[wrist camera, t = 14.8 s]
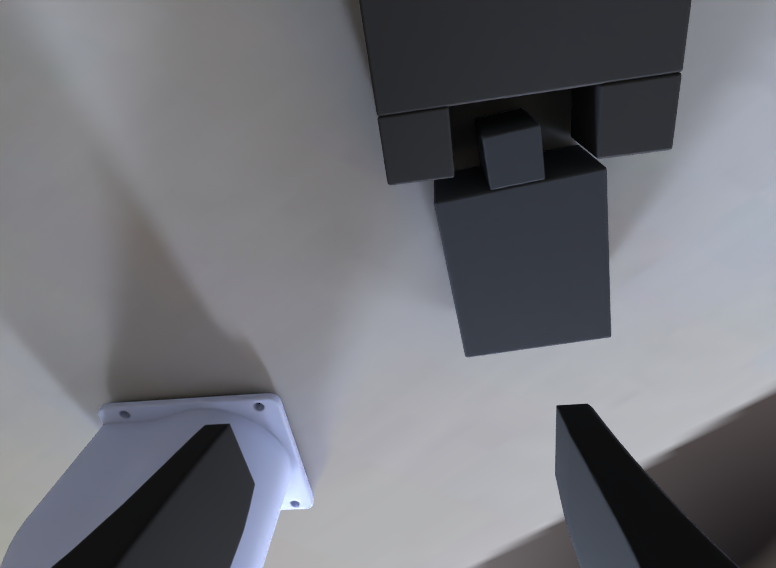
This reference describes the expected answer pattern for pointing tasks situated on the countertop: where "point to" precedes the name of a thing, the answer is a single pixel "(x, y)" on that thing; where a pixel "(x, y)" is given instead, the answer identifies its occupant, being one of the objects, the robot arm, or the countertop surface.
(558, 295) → the graphite pad
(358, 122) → the countertop surface
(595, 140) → the black pad
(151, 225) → the countertop surface
